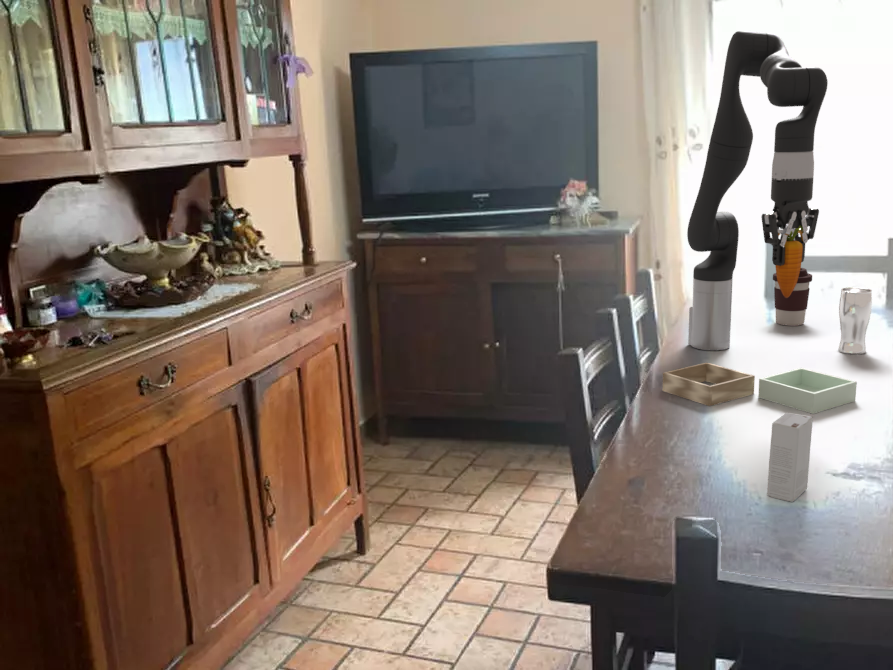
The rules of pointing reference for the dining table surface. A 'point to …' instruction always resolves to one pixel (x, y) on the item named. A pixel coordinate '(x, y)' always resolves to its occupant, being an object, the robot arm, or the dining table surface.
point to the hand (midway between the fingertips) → (788, 263)
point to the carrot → (790, 264)
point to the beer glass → (854, 319)
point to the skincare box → (789, 456)
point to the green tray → (807, 390)
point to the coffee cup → (792, 301)
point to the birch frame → (724, 390)
